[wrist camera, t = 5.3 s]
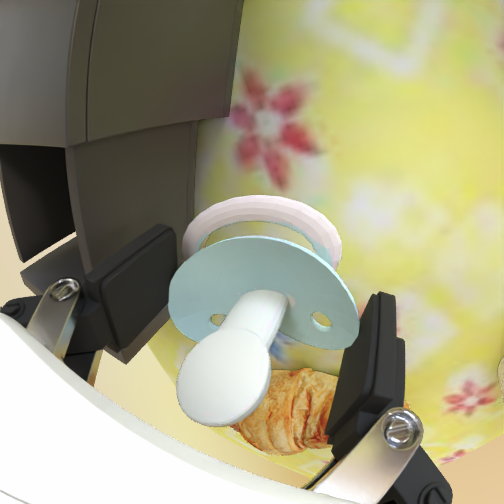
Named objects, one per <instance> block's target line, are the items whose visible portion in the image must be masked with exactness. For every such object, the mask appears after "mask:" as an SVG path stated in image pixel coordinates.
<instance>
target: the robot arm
mask: <svg viewBox="0 0 504 504" xmlns="http://www.w3.org/2000/svg"><path fill="white" fill-rule="evenodd" d="M177 270H178V258H177V235H176V233H175V232H174V229H173V228H172V227H170V226H167V225H164V224H160V223H158V224H156V225H155V226H153V227H152V228H150V229H149V230H147V231H146V232H144V233H143V234H141V235H140V236H139V237H137V238H136V239H134V240H133V241H131V242H130V243H129V244H127V245H126V246H124V247H123V248H121V249H120V250H119V251H117V252H116V253H115V254H113V255H112V256H110V257H109V258H108V259H106V260H105V261H104V262H102V263H101V264H100V265H98V266H97V267H96V268H94V269H93V270H92V271H90V272H89V273H88V274H86V275H85V276H84V277H83V278H84V281H85V283H84V284H82V285H81V282H80V281H79V280H78V279H76V278H73V277H64V278H61V279H58V280H56V281H55V282H53V283H52V284H51V285H50V286H49V287H48V289H47V290H46V292H45V294H44V295H38V296H30V297H23V298H17V299H13V300H10V301H8V302H7V303H6V304H5V305H4V306H3V307H0V504H451V503H452V497H453V494H452V489H451V487H450V485H449V483H448V482H447V480H446V479H445V478H444V476H443V475H442V474H441V472H440V471H439V470H438V468H437V467H436V466H435V464H434V463H433V462H432V460H431V459H430V458H429V456H428V455H427V454H426V452H425V451H424V450H423V448H422V447H421V446H420V443H421V441H422V438H423V426H422V422H421V421H420V419H419V417H418V416H417V415H416V414H415V413H414V412H413V411H411V410H409V409H407V408H404V390H405V341H404V340H403V339H401V338H398V337H396V300H395V296H394V295H391V294H387V293H384V292H381V291H380V292H379V293H378V294H377V295H376V294H372V295H371V297H370V299H369V301H368V304H367V306H366V308H365V310H364V312H363V314H362V316H361V318H360V325H359V334H358V336H357V338H356V339H355V341H354V342H353V344H352V345H351V346H349V347H347V348H345V351H344V354H343V359H342V364H341V368H340V373H339V377H338V381H337V386H336V390H335V394H334V398H333V402H332V406H331V410H330V413H329V417H328V421H327V424H326V428H325V431H324V435H328V436H329V437H328V440H327V444H329V445H333V447H332V450H331V452H332V454H333V455H334V458H333V459H332V460H331V461H330V462H329V463H328V464H327V465H325V466H324V467H323V468H322V469H321V470H320V471H319V472H318V473H317V474H316V475H315V476H314V477H312V478H311V479H310V480H309V481H308V482H307V483H306V484H304V485H303V486H302V487H301V488H297V487H293V486H290V485H287V484H283V483H280V482H277V481H274V480H271V479H268V478H265V477H262V476H259V475H256V474H253V473H250V472H248V471H245V470H242V469H240V468H237V467H234V466H232V465H229V464H227V463H224V462H222V461H220V460H217V459H215V458H213V457H210V456H208V455H206V454H204V453H202V452H200V451H197V450H195V449H193V448H191V447H189V446H187V445H185V444H183V443H181V442H179V441H177V440H175V439H173V438H172V437H170V436H168V435H166V434H164V433H163V432H161V431H159V430H157V429H156V428H154V427H152V426H150V425H149V424H147V423H145V422H144V421H142V420H140V419H139V418H137V417H135V416H134V415H132V414H131V413H129V412H128V411H126V410H125V409H123V408H122V407H120V406H119V405H117V404H116V403H114V402H113V401H111V400H110V399H109V398H107V397H106V396H104V395H103V394H101V393H100V392H99V391H98V390H96V389H95V388H94V383H95V379H96V375H97V371H98V367H99V363H100V359H101V356H102V352H103V348H104V347H105V346H106V345H107V347H108V348H109V349H111V350H113V351H114V352H116V353H117V354H118V353H119V352H120V351H121V350H122V348H123V349H125V348H127V347H128V346H129V345H130V344H131V343H132V342H133V340H134V339H135V338H136V337H137V336H138V335H139V334H140V333H141V332H142V331H143V330H144V329H145V327H146V326H147V325H148V324H149V323H150V322H151V321H152V320H153V319H154V318H155V317H156V316H157V315H158V314H159V312H160V311H161V310H162V309H163V308H164V307H165V306H166V305H167V304H168V303H169V287H170V283H171V280H172V278H173V276H174V274H175V273H176V271H177Z"/></svg>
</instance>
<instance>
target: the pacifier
mask: <svg viewBox="0 0 504 504" xmlns="http://www.w3.org/2000/svg"><path fill="white" fill-rule="evenodd" d="M247 221H262V222H272V223H275V224H279V225H282V226H286V227H289V228H291V229H292V230H294V231H296V232H298V233H300V234H302V235H303V236H304V237H305V238H306V239H307V240H308V241H309V242H310V243H311V244H312V246H313V248H314V250H315V252H316V254H315V253H313V252H311V251H310V250H308V249H306V248H304V247H302V246H300V245H298V244H295V243H293V242H290V241H287V240H283V239H280V238H274V237H267V236H257V235H256V236H241V237H234V238H229V239H225V240H222V241H218V242H216V243H214V244H212V245H209V246H207V247H205V244H206V241H207V239H208V237H209V236H210V234H211V233H212V232H214V231H216V230H218V229H220V228H221V227H223V226H227V225H230V224H234V223H237V222H247ZM182 253H183V257H184V261H185V262H184V263H183V264H182V265H181V267H180V268H179V269H178V270H177V271H176V273H175V274H174V276H173V278H172V280H171V283H170V287H169V303H168V310H169V314H170V317H171V319H172V321H173V323H174V325H175V326H176V327H177V329H178V330H179V331H180V332H181V333H183V334H184V335H185V336H186V337H188V338H190V339H192V340H193V341H196V342H199V343H198V344H197V345H196V346H195V347H194V348H193V349H192V350H191V351H190V352H189V354H188V355H187V357H186V358H185V360H184V362H183V364H182V366H181V368H180V371H179V374H178V378H177V386H176V391H177V398H178V402H179V405H180V406H181V408H182V410H183V412H184V413H185V414H186V415H187V416H188V417H189V418H190V419H192V420H193V421H195V422H197V423H199V424H202V425H205V426H210V427H225V426H229V425H233V424H235V423H238V422H240V421H242V420H244V419H245V418H247V417H248V416H249V415H251V414H252V413H253V412H254V411H255V410H256V409H257V407H258V406H259V405H260V404H261V402H262V401H263V399H264V397H265V395H266V393H267V390H268V388H269V385H270V379H271V360H270V355H269V352H268V351H269V349H270V347H271V345H272V343H273V341H274V339H275V337H276V334H277V332H278V331H280V332H281V333H283V334H285V335H286V336H289V337H291V338H293V339H295V340H297V341H300V342H302V343H304V344H307V345H311V346H314V347H318V348H323V349H332V350H339V349H345V348H347V347H349V346H351V345H352V344H353V342H354V341H355V339H356V338H357V336H358V334H359V325H360V320H359V314H358V310H357V307H356V304H355V301H354V299H353V297H352V295H351V293H350V291H349V290H348V288H347V286H346V285H345V283H344V282H343V281H342V279H341V278H340V276H339V275H338V274H337V273H336V272H335V271H336V269H337V267H338V265H339V263H340V261H341V258H342V242H341V239H340V237H339V235H338V232H337V230H336V228H335V227H334V226H333V224H332V223H331V222H330V221H329V220H328V219H327V218H326V217H325V216H324V215H323V214H322V213H320V212H318V211H316V210H315V209H313V208H311V207H309V206H308V205H306V204H304V203H302V202H298V201H295V200H291V199H288V198H284V197H281V196H268V195H250V196H242V197H234V198H231V199H228V200H225V201H222V202H219V203H217V204H214V205H212V206H211V207H209V208H208V209H206V210H204V211H203V212H201V213H200V214H198V216H197V217H196V218H195V219H194V220H193V221H192V222H191V223H190V224H189V226H188V228H187V230H186V232H185V234H184V237H183V243H182ZM314 312H320V313H322V314H324V315H325V316H327V317H328V318H329V320H330V321H331V324H332V325H331V326H329V327H325V326H322V325H320V324H319V323H317V322H316V321H315V319H314V318H313V316H312V313H314ZM215 314H223V315H225V316H226V318H225V319H224V321H223V322H222V324H221V325H220V326H217V325H215V324H214V323H213V322H212V319H211V317H212V315H215Z"/></svg>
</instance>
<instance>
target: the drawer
mask: <svg viewBox="0 0 504 504" xmlns="http://www.w3.org/2000/svg"><path fill="white" fill-rule="evenodd" d="M197 130H198V120H194V121H187V122H180V123H174V124H168V125H162V126H157V127H151V128H146V129H141V130H136V131H132V132H127V133H123V134H119V135H114V136H110V137H106V138H102V139H99V140H95V141H91V142H85V143H84V144H80V145H77V146H73V147H70V148H63V147H51V146H36V145H17V144H0V182H1V188H2V193H3V198H4V203H5V208H6V212H7V216H8V220H9V224H10V228H11V232H12V236H13V239H14V242H15V246H16V249H17V252H18V255H19V258H20V260H21V261H22V262H23V263H25V262H26V261H28V260H29V259H31V258H32V257H34V256H36V255H37V254H38V253H40V252H42V251H43V250H45V249H47V248H48V247H50V246H52V245H53V244H55V243H56V242H58V241H60V240H61V239H63V238H65V237H66V236H68V235H70V234H72V233H73V232H75V231H76V235H77V236H76V237H75V238H73V239H71V240H70V241H68V242H66V243H65V244H63V245H61V246H60V247H58V248H57V249H55V250H54V251H52V252H50V253H49V254H47V255H45V256H44V257H42V258H41V259H39V260H38V261H36V262H35V263H33V264H32V265H30V266H29V267H27V268H26V269H24V270H23V271H21V272H20V274H21V277H22V279H23V282H24V284H25V285H26V286H27V287H28V288H29V289H30V290H31V291H32V292H33V293H34V294H35V295H36V296H38V295H44V294H45V292H46V290H47V289H48V287H49V286H50V285H51V284H52V283H53V282H55V281H56V280H58V279H61V278H64V277H73V278H76V279H78V280H79V281H80V282H81V285H82V284H84V283H85V281H84V278H83V277H84V276H85V275H86V274H88V273H89V272H90V271H92V270H93V269H94V268H96V267H97V266H98V265H100V264H101V263H102V262H104V261H105V260H106V259H108V258H109V257H110V256H112V255H113V254H115V253H116V252H117V251H119V250H120V249H121V248H123V247H124V246H126V245H127V244H129V243H130V242H131V241H133V240H134V239H136V238H137V237H139V236H140V235H141V234H143V233H144V232H146V231H147V230H149V229H150V228H152V227H153V226H155V225H156V224H158V223H160V224H164V225H167V226H170V227H172V228H173V229H174V232H175V233H176V235H177V258H178V269H179V268H180V267H181V265H182V264H183V263H184V262H183V261H184V257H183V253H182V243H183V237H184V234H185V232H186V230H187V228H188V226H189V224H190V223H191V222H192V221H193V215H194V184H195V163H196V145H197ZM169 318H170V314H169V310H168V304H167V305H166V306H165V307H164V308H163V309H162V310H161V311H160V312H159V314H158V315H157V316H156V317H155V318H154V319H153V320H152V321H151V322H150V323H149V324H148V325H147V326H146V327H145V329H144V330H143V331H142V332H141V333H140V334H139V335H138V336H137V337H136V338H135V339H134V340H133V342H132V343H131V344H130V345H129V346H128V347H127V348H125V349H123V348H122V350H121V351H120V352H119V353H118V354H117V353H116V352H114V351H113V350H111V349H109V348H108V347H107V345H106V346H105V347H104V348H103V350H105V351H106V352H108V353H109V354H111V355H112V356H114V357H115V358H117V359H118V360H120V361H121V362H123V363H124V364H127V363H128V362H129V361H130V360H131V359H132V358H133V357H134V356H135V355H136V354H137V353H138V351H140V349H141V348H142V347H143V346H144V345H145V344H146V343H147V342H148V341H149V340H150V339H151V338H152V337H153V336H154V334H155V333H156V332H157V331H158V330H159V329H160V328H161V327H162V326H163V325H164V324H165V323H166V322H167V321H168V320H169Z"/></svg>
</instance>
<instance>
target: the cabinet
mask: <svg viewBox="0 0 504 504" xmlns="http://www.w3.org/2000/svg"><path fill="white" fill-rule="evenodd" d="M243 2H244V0H0V144H17V145H36V146H51V147H63V148H70V147H73V146H77V145H80V144H84V143H85V142H91V141H95V140H99V139H102V138H106V137H110V136H114V135H119V134H123V133H127V132H132V131H136V130H141V129H146V128H151V127H157V126H162V125H168V124H174V123H180V122H187V121H194V120H202V119H210V118H219V117H228V116H229V112H230V103H231V93H232V85H233V76H234V68H235V60H236V52H237V45H238V37H239V30H240V23H241V16H242V9H243Z"/></svg>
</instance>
